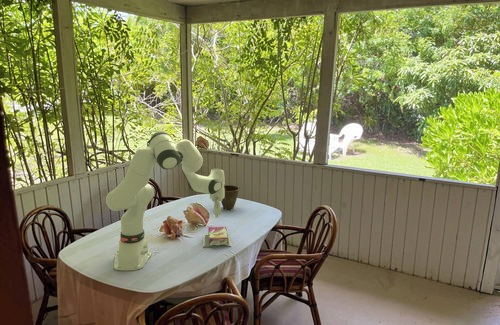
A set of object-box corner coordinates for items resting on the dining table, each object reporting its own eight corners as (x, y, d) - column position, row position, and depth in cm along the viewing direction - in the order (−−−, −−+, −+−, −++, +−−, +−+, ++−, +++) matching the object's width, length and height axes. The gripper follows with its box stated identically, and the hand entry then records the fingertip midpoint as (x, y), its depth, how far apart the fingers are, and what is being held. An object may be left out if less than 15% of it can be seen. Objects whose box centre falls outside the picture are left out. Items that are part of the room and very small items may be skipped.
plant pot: (230, 203, 273) (231, 184, 270) (242, 209, 262) (243, 188, 259) (214, 207, 264) (214, 187, 260) (226, 213, 253) (226, 192, 249)
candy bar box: (226, 225, 217) (228, 237, 202) (225, 233, 219) (228, 245, 203) (207, 226, 216) (209, 238, 200) (207, 233, 217) (209, 246, 201)
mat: (230, 246, 202) (230, 245, 202) (203, 247, 200) (203, 246, 200) (229, 234, 218) (229, 234, 217) (203, 235, 216) (203, 234, 215)
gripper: (223, 200, 199) (222, 223, 202) (221, 189, 219) (221, 210, 222) (211, 200, 198) (211, 223, 201) (211, 189, 218) (211, 210, 221)
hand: (216, 216), depth 212 cm, fingers closed
